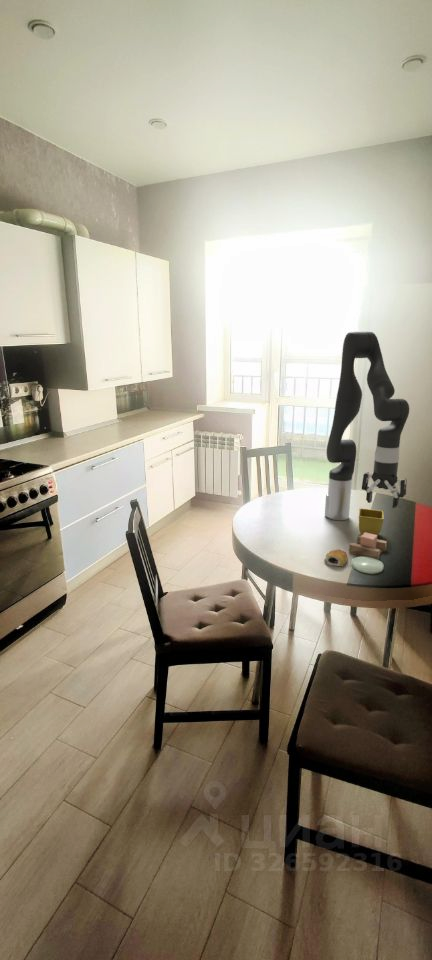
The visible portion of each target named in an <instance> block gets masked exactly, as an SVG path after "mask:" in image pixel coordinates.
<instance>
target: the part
mask: <svg viewBox="0 0 432 960" xmlns="http://www.w3.org/2000/svg"><path fill="white" fill-rule="evenodd" d="M377 539H378V536H377V535H374V534H370V533H366V532H365V533H364V534H363V535H362V536H361V539H360V545H364V546H367V547H371V548H375V549H376V544H377Z"/></svg>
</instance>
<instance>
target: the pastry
mask: <svg viewBox="0 0 432 960" xmlns="http://www.w3.org/2000/svg"><path fill="white" fill-rule="evenodd" d="M323 561H324V562H325V564H327V565H329V566H336V567H343V566H345V565H346V563H347V561H348V554H347V552H346V551H344V550H342V549H333V550H330V551H329V552H327V553H326V555H325V558H324V559H323Z"/></svg>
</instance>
